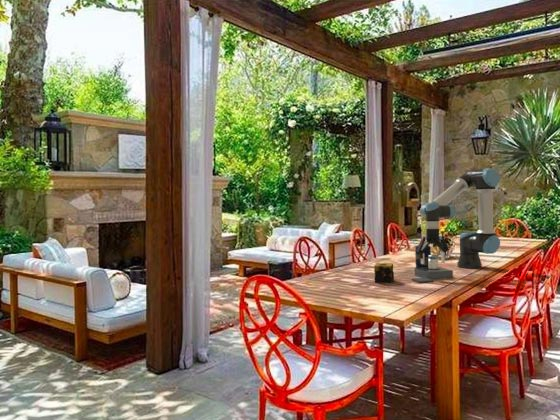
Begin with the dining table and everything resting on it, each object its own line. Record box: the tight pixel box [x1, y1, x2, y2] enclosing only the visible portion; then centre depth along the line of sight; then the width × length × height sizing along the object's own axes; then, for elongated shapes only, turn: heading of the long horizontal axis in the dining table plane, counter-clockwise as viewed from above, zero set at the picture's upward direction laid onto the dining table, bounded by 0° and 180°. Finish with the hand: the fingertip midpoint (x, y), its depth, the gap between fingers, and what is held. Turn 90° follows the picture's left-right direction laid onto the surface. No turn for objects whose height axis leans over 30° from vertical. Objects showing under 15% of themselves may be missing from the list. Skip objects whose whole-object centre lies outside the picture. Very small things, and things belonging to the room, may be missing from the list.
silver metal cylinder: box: [428, 254, 439, 270], centre depth 289 cm, size 6×6×13 cm
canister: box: [414, 243, 432, 268], centre depth 304 cm, size 10×10×18 cm
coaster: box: [411, 277, 435, 284], centre depth 276 cm, size 9×9×1 cm
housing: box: [414, 266, 454, 280], centre depth 289 cm, size 16×16×4 cm
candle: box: [373, 262, 395, 284], centre depth 279 cm, size 10×10×10 cm
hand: (432, 263), depth 289 cm, fingers open, 13 cm apart
